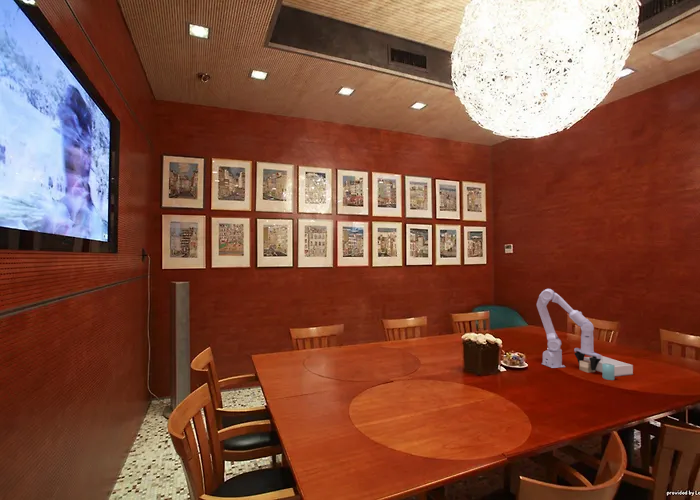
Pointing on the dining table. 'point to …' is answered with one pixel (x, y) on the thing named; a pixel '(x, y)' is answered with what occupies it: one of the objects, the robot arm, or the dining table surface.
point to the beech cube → (586, 366)
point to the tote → (619, 366)
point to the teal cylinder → (608, 371)
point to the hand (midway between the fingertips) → (587, 368)
